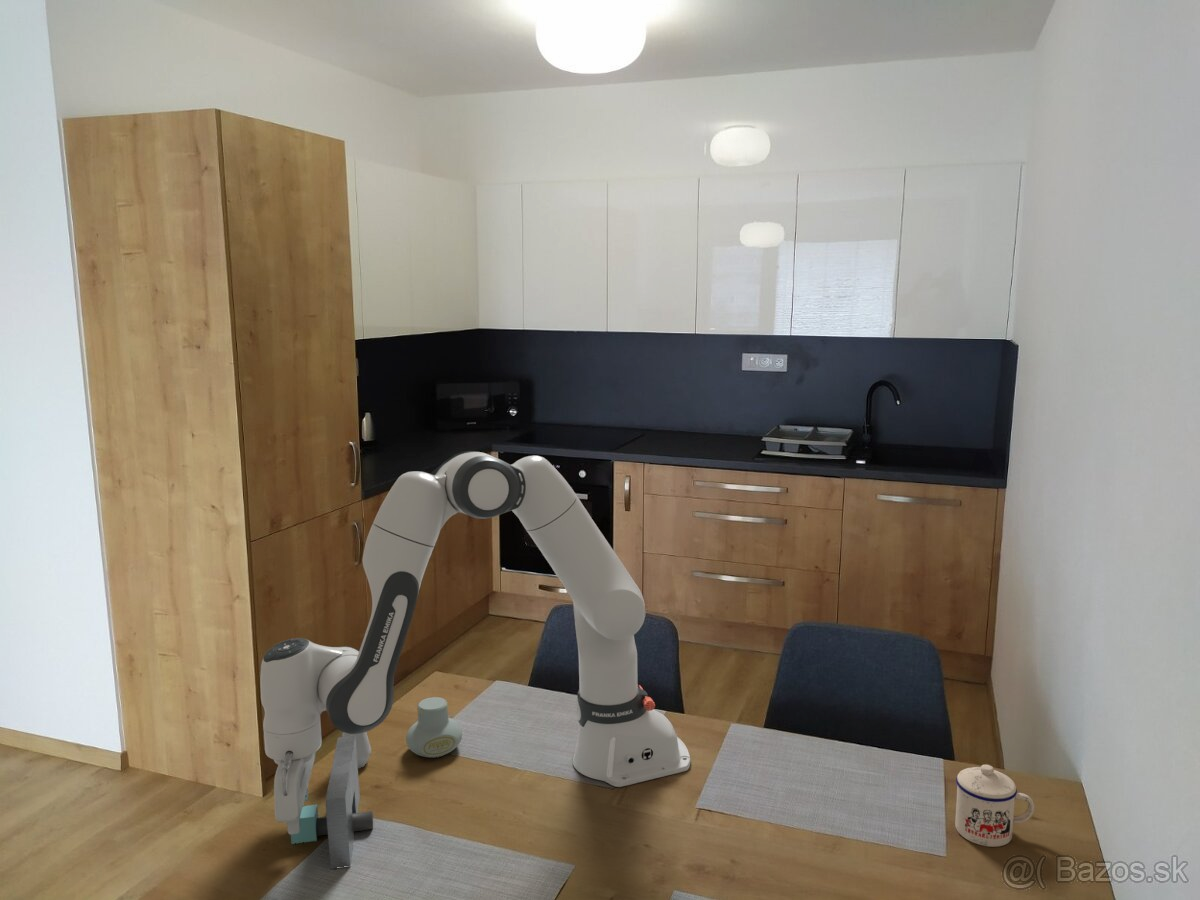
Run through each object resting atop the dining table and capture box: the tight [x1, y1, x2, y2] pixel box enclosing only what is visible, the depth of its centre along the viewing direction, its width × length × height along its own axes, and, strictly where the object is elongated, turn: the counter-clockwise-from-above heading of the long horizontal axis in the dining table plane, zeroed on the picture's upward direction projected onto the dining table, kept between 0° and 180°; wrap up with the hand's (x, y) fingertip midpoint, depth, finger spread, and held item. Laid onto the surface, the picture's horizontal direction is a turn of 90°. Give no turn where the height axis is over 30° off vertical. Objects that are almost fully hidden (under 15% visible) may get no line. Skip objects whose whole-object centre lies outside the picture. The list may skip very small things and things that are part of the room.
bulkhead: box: [324, 736, 361, 869], centre depth 147 cm, size 3×20×12 cm, turn 11°
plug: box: [290, 804, 374, 845], centre depth 147 cm, size 13×4×4 cm, turn 101°
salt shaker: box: [341, 731, 372, 769], centre depth 168 cm, size 6×6×13 cm
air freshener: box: [405, 696, 463, 759], centre depth 173 cm, size 11×8×10 cm
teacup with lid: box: [954, 764, 1035, 848], centre depth 143 cm, size 12×9×12 cm
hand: (298, 814), depth 146 cm, fingers open, 8 cm apart
